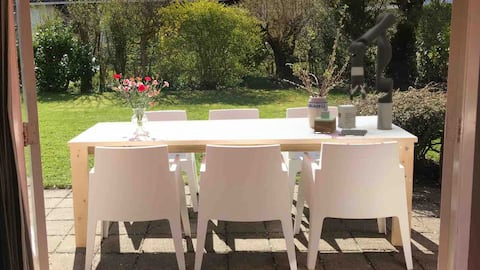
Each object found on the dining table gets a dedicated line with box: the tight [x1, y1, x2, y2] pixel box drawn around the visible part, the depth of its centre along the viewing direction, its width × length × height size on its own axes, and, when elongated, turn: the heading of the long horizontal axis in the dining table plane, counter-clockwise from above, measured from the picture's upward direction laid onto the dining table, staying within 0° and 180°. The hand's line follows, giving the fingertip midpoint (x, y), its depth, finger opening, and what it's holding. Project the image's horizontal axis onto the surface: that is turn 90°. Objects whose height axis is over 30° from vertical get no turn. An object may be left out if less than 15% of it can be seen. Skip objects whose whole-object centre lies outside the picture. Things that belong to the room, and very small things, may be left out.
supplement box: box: [337, 104, 357, 129], centre depth 345 cm, size 9×9×15 cm
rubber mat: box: [340, 128, 368, 137], centre depth 323 cm, size 18×16×1 cm
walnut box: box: [313, 118, 337, 134], centre depth 330 cm, size 12×12×8 cm
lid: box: [314, 110, 337, 121], centre depth 329 cm, size 12×12×6 cm
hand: (357, 100), depth 323 cm, fingers open, 8 cm apart
